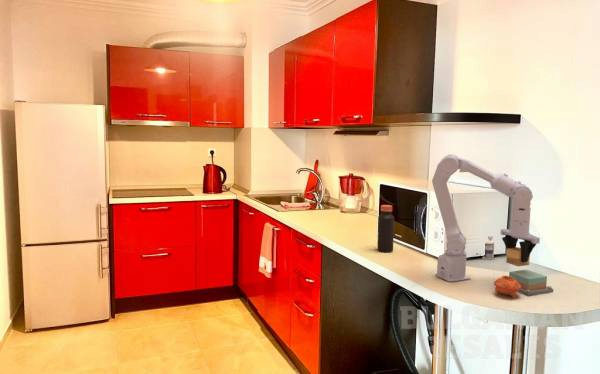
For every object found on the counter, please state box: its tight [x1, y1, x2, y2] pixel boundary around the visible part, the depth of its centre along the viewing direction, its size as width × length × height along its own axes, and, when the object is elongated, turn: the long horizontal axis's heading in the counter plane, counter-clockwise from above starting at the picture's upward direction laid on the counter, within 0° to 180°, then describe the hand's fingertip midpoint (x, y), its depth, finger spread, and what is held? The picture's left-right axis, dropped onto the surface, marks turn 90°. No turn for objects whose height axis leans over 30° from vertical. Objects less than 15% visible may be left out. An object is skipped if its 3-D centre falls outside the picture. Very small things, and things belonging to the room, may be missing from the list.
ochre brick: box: [506, 246, 531, 267], centre depth 156 cm, size 5×5×5 cm
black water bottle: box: [376, 204, 395, 253], centre depth 198 cm, size 7×7×20 cm
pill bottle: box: [481, 235, 495, 260], centre depth 189 cm, size 5×5×10 cm
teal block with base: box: [508, 269, 554, 297], centre depth 153 cm, size 11×11×5 cm
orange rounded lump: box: [493, 275, 521, 299], centre depth 147 cm, size 8×8×7 cm
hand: (517, 259), depth 156 cm, fingers closed on ochre brick, 5 cm apart
